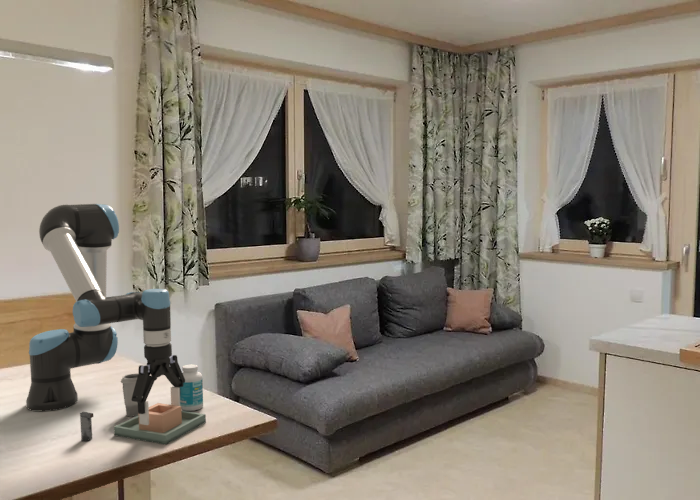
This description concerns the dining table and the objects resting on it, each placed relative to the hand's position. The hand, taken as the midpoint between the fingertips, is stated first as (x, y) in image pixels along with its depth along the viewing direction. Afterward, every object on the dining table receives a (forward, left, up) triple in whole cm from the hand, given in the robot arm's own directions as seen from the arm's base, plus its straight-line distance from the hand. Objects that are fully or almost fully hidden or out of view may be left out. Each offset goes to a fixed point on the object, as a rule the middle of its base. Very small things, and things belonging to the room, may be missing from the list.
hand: (160, 416), depth 184 cm
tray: (0, 0, -4) cm, 4 cm away
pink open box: (0, 0, -3) cm, 3 cm away
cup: (-16, +7, -4) cm, 18 cm away
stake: (-14, -14, -4) cm, 20 cm away
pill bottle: (-3, +18, -4) cm, 19 cm away
